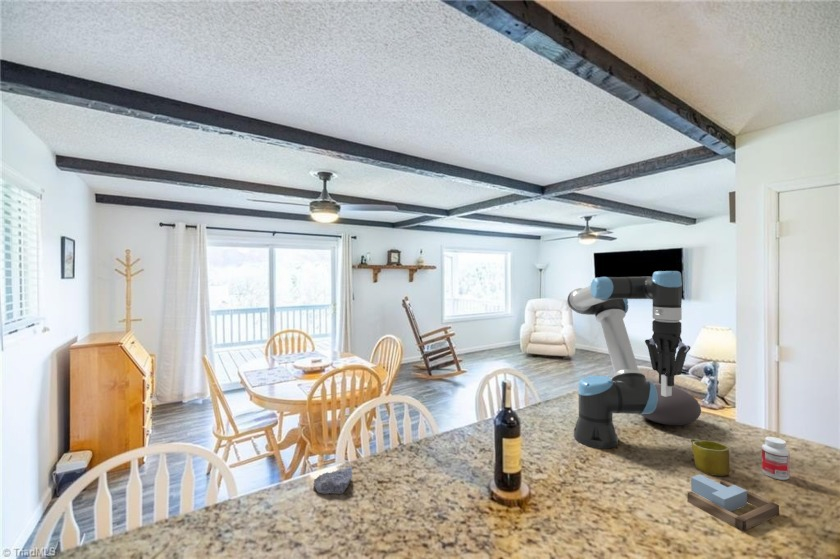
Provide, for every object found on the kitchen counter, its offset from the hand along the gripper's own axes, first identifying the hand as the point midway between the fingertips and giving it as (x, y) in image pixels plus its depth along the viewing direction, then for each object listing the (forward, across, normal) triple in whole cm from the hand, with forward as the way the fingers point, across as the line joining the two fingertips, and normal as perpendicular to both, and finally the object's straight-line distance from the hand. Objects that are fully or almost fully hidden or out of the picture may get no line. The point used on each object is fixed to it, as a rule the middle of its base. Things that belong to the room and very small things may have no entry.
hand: (666, 395), depth 114 cm
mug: (+25, +3, +16) cm, 30 cm away
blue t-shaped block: (+25, +14, 0) cm, 28 cm away
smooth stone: (+26, -27, +39) cm, 54 cm away
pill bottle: (+25, +14, +30) cm, 41 cm away
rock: (+25, -33, -98) cm, 107 cm away
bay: (+25, +18, 0) cm, 30 cm away
